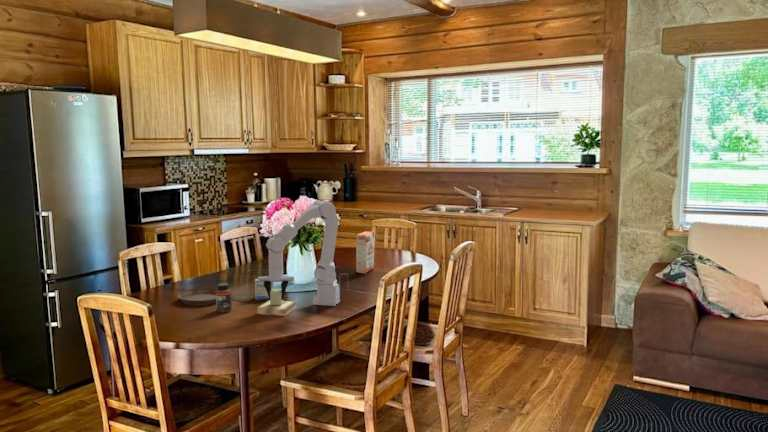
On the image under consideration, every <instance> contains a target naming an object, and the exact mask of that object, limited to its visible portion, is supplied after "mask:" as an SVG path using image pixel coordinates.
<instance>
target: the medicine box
mask: <svg viewBox="0 0 768 432" xmlns="http://www.w3.org/2000/svg"><path fill="white" fill-rule="evenodd" d="M272 289H274V282H272V284H271V290H272ZM254 296H255V298H254V299H255V300H256V301H262V300H269V296H268V293H267V290H266V288H265V287H264V282H258V278H254Z"/></svg>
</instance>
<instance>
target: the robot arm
mask: <svg viewBox="0 0 768 432" xmlns="http://www.w3.org/2000/svg"><path fill="white" fill-rule="evenodd" d="M336 209H337V208H336V206H334V204H333V203H331V202H330V201H323V200H320V199H319V200H318V199H317V200H314V202H313V203H312V204H310V205H309V206H308V207H307V208H306V210H305V211H304V212H303V213H302V214H301V215H300V216H298V217H297V219H295V220H294V222H292V223H291V224H289V223H288V224H284V225H283V226H282V228H281V230H280V231H278V232H277V233H274V234H273V235H274V236H271V237H270V238H268V239H267V242H266V243H265V247H266V249H267V250H268V275H265V276H257V279H258V282H264V287H265V288H266V290H267V293H268V296H269V299H268V300H270V291H271V284H272V282H273V283H279V282H280V286H281V287H280V289H282V300H283V301H284V300H285V294H286V290H287V287H288V285H289V283H295V276H290V275H289V276H288V275H287V276H286V275H284V256H283V251H284V250H285V249H286V245H287V244H289V242H290V241H291V240H293V239H294V238H295V237H296V236H297V235H298V231H299V229H301V228H302V227H303V226H305V225H306V224H307V223H308V222H309V221H311V220H312V219H317V218H320V219H321V220H322V221H323V222H324V224H325V226H324V233H323V241H322V248H321V252H320V253H321V254H320V259H319V261H318V262H317V265H316V268H315V270H314V273H313V275H314V277H315V279H316V301H315V302H314V303H313V305H315V306H328V307H330V306H331V307H335V306H337V305H338V304H339V303H340V302H341V297H340V296H341V295H340V294H341V293H340V284H339V283H336V282H335V281H336V279H337V273H336V266H335V263H334V258H335V257H334V256H335V252H336V251H335V249H336V244H337V243H336V242H337V235H338V228H339V224H340V223H339V216H338V213H337V212H336ZM336 304H337V305H336Z"/></svg>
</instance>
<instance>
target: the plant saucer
mask: <svg viewBox="0 0 768 432" xmlns="http://www.w3.org/2000/svg"><path fill="white" fill-rule="evenodd" d="M217 289H218V287H217V288H215V287H202V288H201V287H199V288H197V287H196V288H191V289H187V290H184V291H180V292H179V293H178V294H177V298H178V299H179V300H180V301H181V302H182V304H183V303H184V304H185V305H188V306H209V305H210V306H211V305H214V304H216V290H217Z"/></svg>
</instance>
